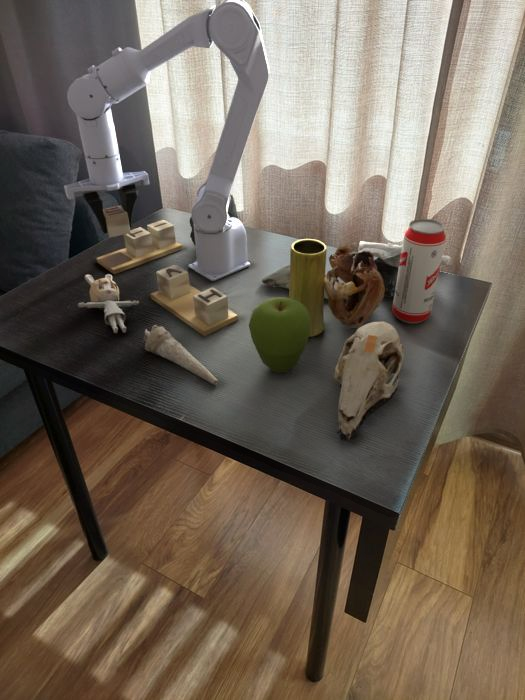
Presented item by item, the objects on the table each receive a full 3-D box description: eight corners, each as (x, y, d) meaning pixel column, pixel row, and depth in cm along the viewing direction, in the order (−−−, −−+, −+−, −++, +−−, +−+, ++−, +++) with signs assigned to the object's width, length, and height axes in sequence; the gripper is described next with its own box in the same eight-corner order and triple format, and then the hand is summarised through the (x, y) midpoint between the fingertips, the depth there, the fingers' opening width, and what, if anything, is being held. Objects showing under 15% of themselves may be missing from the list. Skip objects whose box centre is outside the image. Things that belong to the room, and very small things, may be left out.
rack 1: (164, 238, 114) (161, 216, 110) (182, 249, 109) (180, 226, 106) (97, 262, 105) (91, 238, 102) (114, 274, 101) (109, 250, 98)
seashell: (153, 318, 82) (225, 333, 73) (158, 359, 85) (229, 378, 76) (132, 326, 79) (204, 343, 70) (138, 368, 82) (209, 389, 73)
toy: (89, 322, 80) (68, 264, 89) (85, 347, 83) (66, 288, 92) (153, 318, 85) (128, 264, 94) (148, 342, 89) (124, 287, 97)
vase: (304, 312, 89) (306, 234, 80) (332, 326, 85) (338, 246, 77) (279, 327, 85) (279, 246, 77) (307, 342, 82) (310, 260, 73)
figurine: (358, 249, 99) (456, 263, 96) (361, 229, 99) (460, 243, 96) (356, 261, 106) (448, 276, 102) (360, 243, 106) (451, 256, 103)
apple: (297, 345, 82) (299, 280, 75) (318, 378, 75) (322, 310, 68) (243, 356, 79) (240, 291, 73) (261, 391, 73) (259, 323, 66)
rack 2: (151, 298, 94) (146, 273, 91) (183, 285, 97) (180, 260, 94) (204, 336, 84) (201, 309, 81) (238, 319, 88) (236, 293, 85)
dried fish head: (396, 329, 77) (372, 266, 74) (341, 348, 80) (315, 287, 77) (393, 285, 96) (373, 233, 92) (348, 301, 99) (327, 251, 95)
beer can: (432, 310, 89) (451, 221, 79) (425, 329, 84) (444, 237, 75) (396, 302, 91) (410, 214, 82) (387, 320, 87) (401, 230, 77)
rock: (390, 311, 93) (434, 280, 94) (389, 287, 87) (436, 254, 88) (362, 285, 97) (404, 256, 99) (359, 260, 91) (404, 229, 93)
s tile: (103, 230, 99) (99, 209, 96) (124, 225, 100) (120, 204, 98) (109, 237, 96) (105, 216, 93) (130, 233, 97) (127, 212, 95)
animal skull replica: (309, 433, 66) (313, 372, 60) (352, 358, 78) (358, 301, 72) (372, 454, 63) (382, 392, 57) (406, 373, 75) (418, 315, 69)
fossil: (328, 298, 86) (262, 261, 93) (322, 321, 89) (258, 283, 96) (365, 280, 93) (301, 247, 101) (358, 302, 96) (296, 268, 103)
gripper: (64, 167, 84) (82, 245, 92) (150, 153, 89) (160, 227, 98) (54, 156, 89) (73, 231, 97) (137, 143, 94) (148, 215, 103)
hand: (116, 228), depth 98 cm, fingers closed on s tile, 4 cm apart
